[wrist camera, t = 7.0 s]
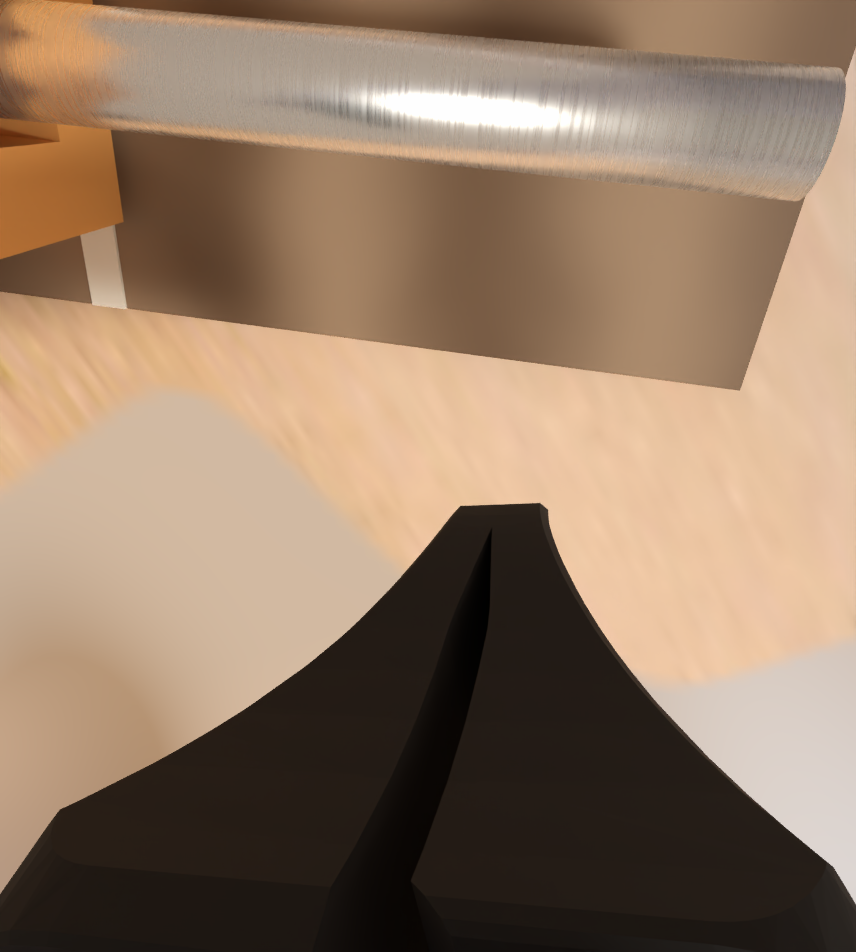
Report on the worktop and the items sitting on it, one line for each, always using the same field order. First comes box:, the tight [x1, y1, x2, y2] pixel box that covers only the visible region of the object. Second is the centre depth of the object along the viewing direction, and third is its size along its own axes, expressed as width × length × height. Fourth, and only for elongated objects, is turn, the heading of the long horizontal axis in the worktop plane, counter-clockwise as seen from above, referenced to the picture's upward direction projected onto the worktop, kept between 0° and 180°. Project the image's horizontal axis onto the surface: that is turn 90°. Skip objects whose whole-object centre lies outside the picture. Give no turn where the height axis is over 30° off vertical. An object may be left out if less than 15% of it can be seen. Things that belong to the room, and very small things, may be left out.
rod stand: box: [0, 0, 856, 390], centre depth 14 cm, size 26×12×7 cm, turn 85°
